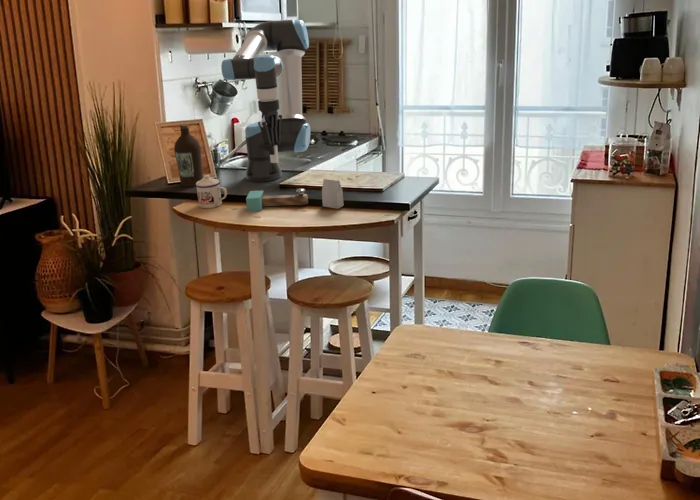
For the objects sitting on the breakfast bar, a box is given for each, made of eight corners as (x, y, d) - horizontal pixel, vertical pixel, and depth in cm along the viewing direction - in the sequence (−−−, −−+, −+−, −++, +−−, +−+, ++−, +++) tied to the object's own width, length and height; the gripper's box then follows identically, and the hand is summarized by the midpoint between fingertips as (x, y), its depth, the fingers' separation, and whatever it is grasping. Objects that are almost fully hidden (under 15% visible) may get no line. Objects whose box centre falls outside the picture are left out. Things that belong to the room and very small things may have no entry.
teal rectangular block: (251, 203, 284) (250, 191, 282) (264, 203, 284) (263, 190, 282) (247, 211, 275) (245, 198, 273) (260, 211, 275) (259, 198, 273)
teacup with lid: (194, 208, 283) (190, 178, 279) (205, 201, 291) (201, 171, 287) (223, 209, 280) (219, 179, 275) (233, 202, 288) (229, 172, 283)
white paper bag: (338, 208, 272) (336, 182, 268) (322, 206, 276) (320, 180, 272) (343, 205, 275) (341, 179, 271) (328, 203, 279) (326, 177, 275)
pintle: (296, 193, 280) (296, 188, 279) (305, 193, 280) (305, 188, 279) (295, 196, 277) (295, 191, 276) (305, 196, 277) (304, 190, 276)
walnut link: (308, 201, 282) (308, 193, 281) (307, 205, 277) (306, 197, 276) (252, 203, 283) (251, 195, 282) (250, 207, 279) (249, 199, 278)
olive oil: (186, 180, 322) (178, 122, 312) (209, 180, 319) (201, 122, 310) (175, 187, 312) (166, 127, 303) (198, 187, 309) (190, 127, 300)
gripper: (269, 95, 278) (275, 157, 287) (249, 102, 268) (256, 166, 277) (286, 96, 275) (292, 158, 284) (267, 103, 264) (273, 167, 273)
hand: (274, 162), depth 280 cm, fingers closed
